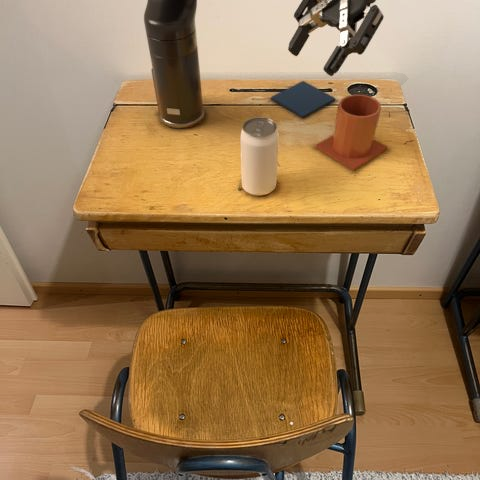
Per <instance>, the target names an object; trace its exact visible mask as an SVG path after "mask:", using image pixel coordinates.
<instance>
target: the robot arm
mask: <svg viewBox="0 0 480 480" xmlns="http://www.w3.org/2000/svg"><path fill="white" fill-rule="evenodd" d="M376 1H377V0H301V2H300V4H299V5H298V7H297V8H296V10H295V11H294V13H293V18H294V19H295V20H296V22H297V24H298V27H297V29H296V30H295V32H294V34H293V36H292V37H291V39H290V40H289V44H288V47H287V50H288V52H289V53H290V54H291V55H293V56H294V57H298V56H299V55H300V52H301V51H302V49H303V48H304V46H305V44H306V43H307V41H308V39H309V37H310V34H312V33H313V32H314V31H315V30H317V29H318V28H325V26H329V27H331V28H336V30H338V31H339V45H336V46H335V48H334V50H333V51H332V53H331V54H330V56H329V58H328V59H327V61H326V62H325V64H324V66H323V72H324V73H326V74H327V75H328V76H330V77H333V76H334V75H335V74H337V73H338V72H339V70H340V69H341V67H342V66H343V64H344V62H345V61H346V59H347V58H348V56H349V55H351V54H357V55H358V56H359V55H363V54H364V52H365V51H366V49H367V47H368V46H369V44H370V42H371V40H372V39H373V37H374V36H375V34H376V32H377V31H378V29H379V27H380V25H381V23H382V22H383V20H384V18H385V17H384V15H383V14H384V13H382V11H381V9H380V7H379V6H378V5H377V4H374V3H375V2H376ZM372 4H373V5H372ZM197 8H198V0H147V1H146V6H145V10H144V13H143V23H144V30H145V35H146V40H147V46H148V51H149V56H150V63H151V76H152V80H153V82H152V83H153V88H154V92H155V93H154V94H155V98H156V104H157V110H158V114H159V117H160V121H161V123H163V124H164V125H165V126H167V127H169V128H172V129H187V128H191V127H194V126H196V125H198V124H200V123H201V122H202V121H203V119H204V118H205V109H204V102H203V90H202V80H201V70H200V58H199V48H198V47H199V46H198V39H197V38H198V37H197V27H196V14H197ZM360 21H361V24H360V26H359V27H358V23H359V22H360Z"/></svg>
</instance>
